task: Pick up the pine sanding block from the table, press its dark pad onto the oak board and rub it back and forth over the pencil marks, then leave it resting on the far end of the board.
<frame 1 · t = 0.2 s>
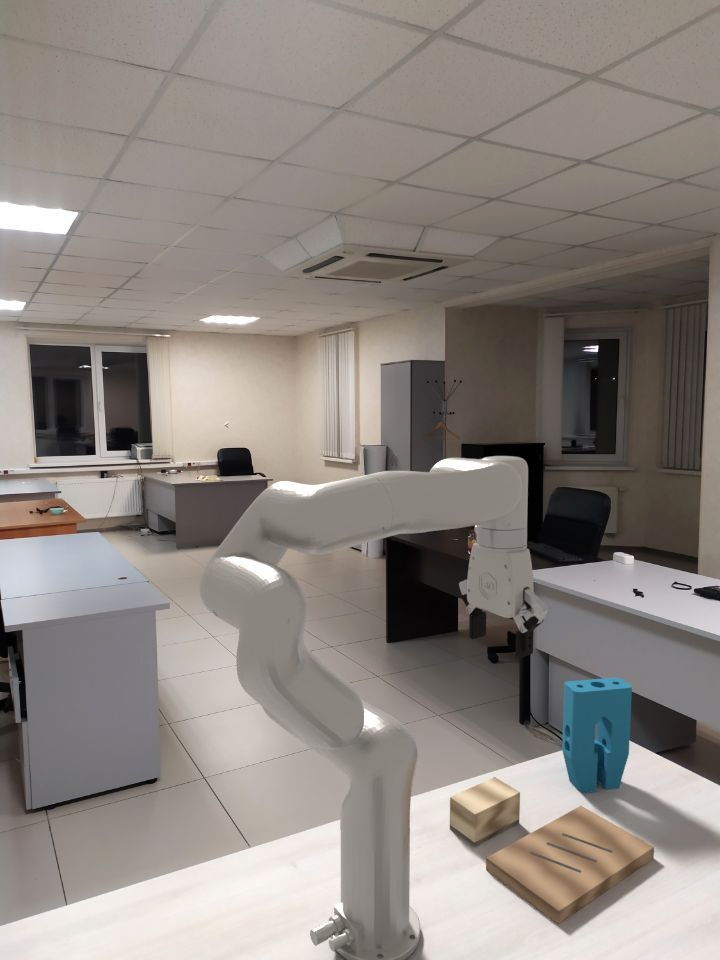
hand: (500, 646, 105), 36 cm above the table, tool pointing down, fingers open, 9 cm apart
oak board: (570, 863, 109), on the table
sanding block: (484, 827, 119), on the table
block: (594, 784, 132), on the table
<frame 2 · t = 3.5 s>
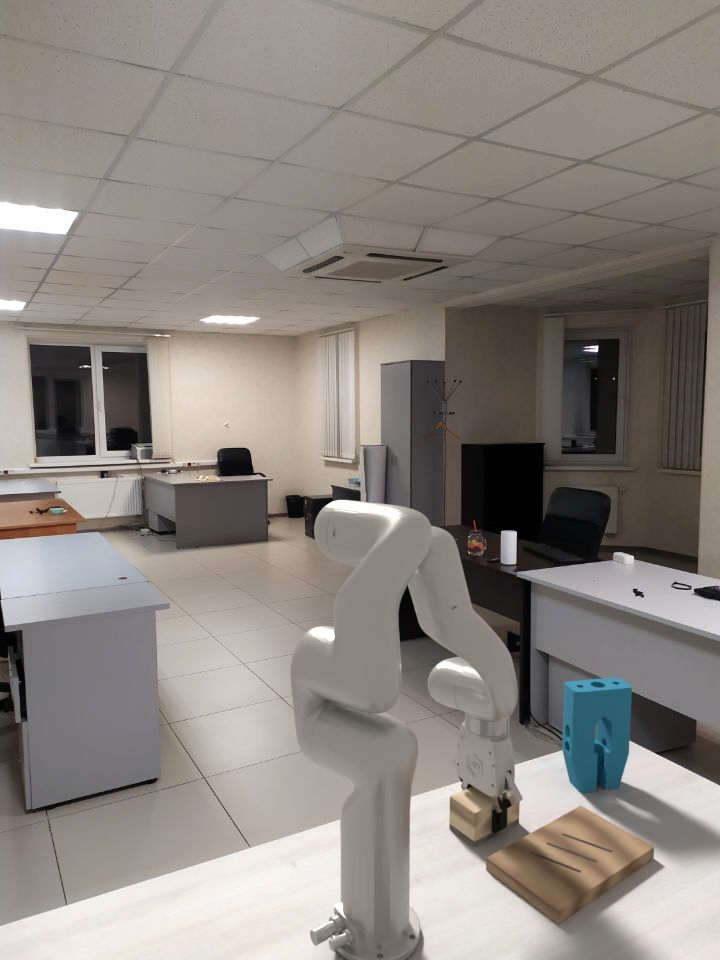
hand: (484, 819, 118), 1 cm above the table, tool pointing down, fingers closed on sanding block, 6 cm apart
sanding block: (484, 826, 119), on the table, touching gripper
everything else where it was.
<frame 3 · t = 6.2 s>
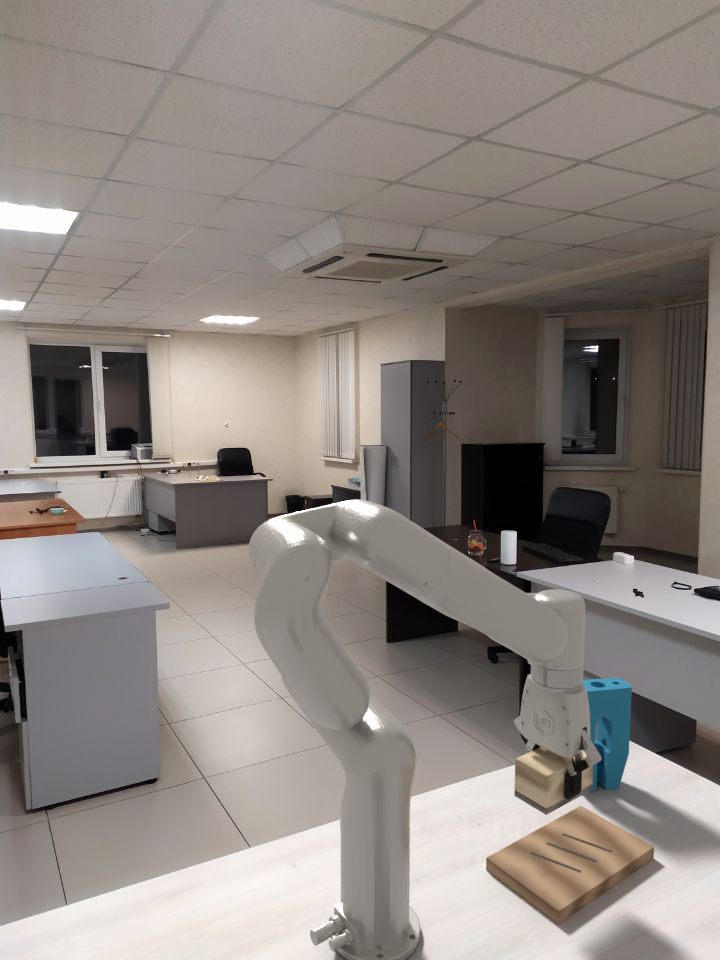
hand: (554, 784, 104), 15 cm above the table, tool pointing down, fingers closed on sanding block, 6 cm apart
sanding block: (553, 792, 104), point 14 cm above the table, touching gripper
everything else where it was.
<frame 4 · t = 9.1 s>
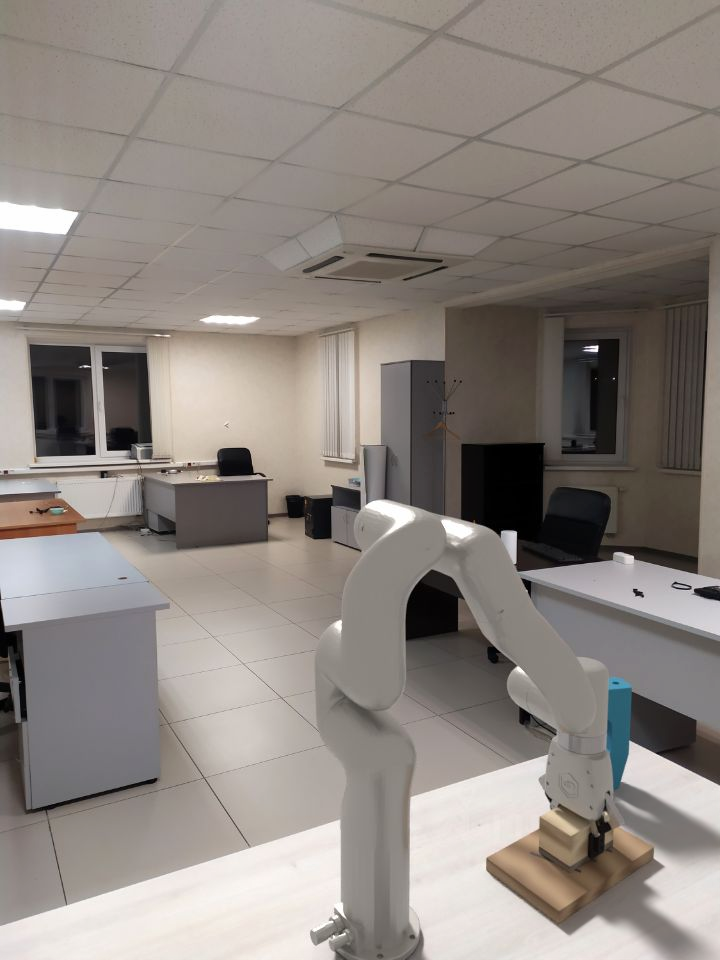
hand: (577, 842, 109), 3 cm above the table, tool pointing down, fingers closed on sanding block, 6 cm apart
sanding block: (576, 848, 109), point 2 cm above the table, touching gripper
everything else where it was.
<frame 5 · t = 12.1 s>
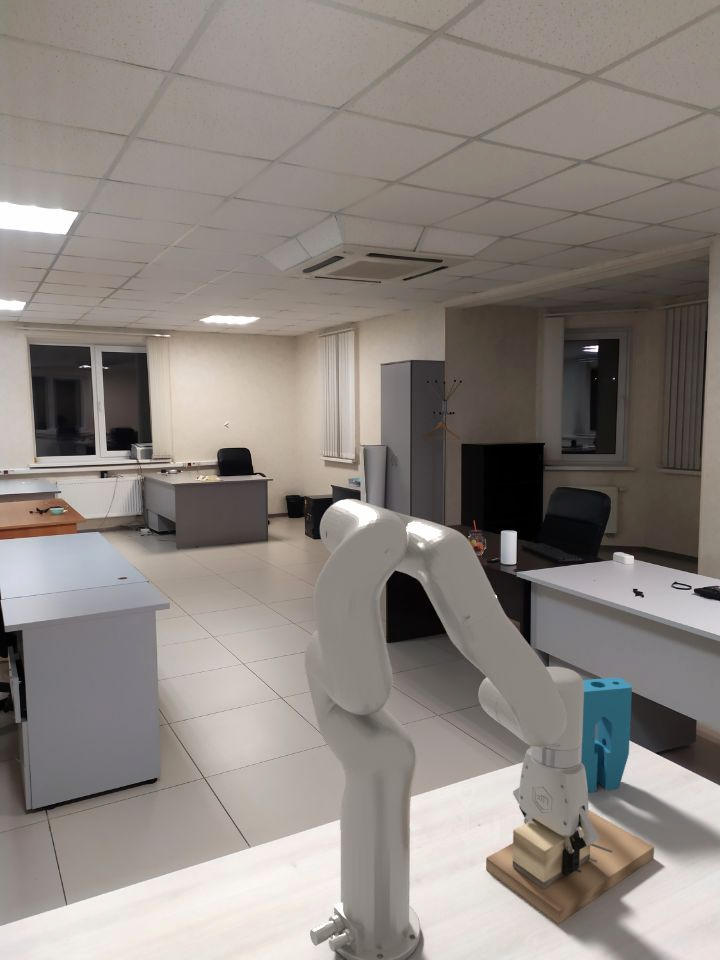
hand: (552, 858, 106), 3 cm above the table, tool pointing down, fingers closed on sanding block, 6 cm apart
sanding block: (551, 862, 106), point 2 cm above the table, touching gripper
everything else where it was.
when the fingers open (3 cm above the table, at t = 14.6 s): sanding block stays where it is, resting on oak board.
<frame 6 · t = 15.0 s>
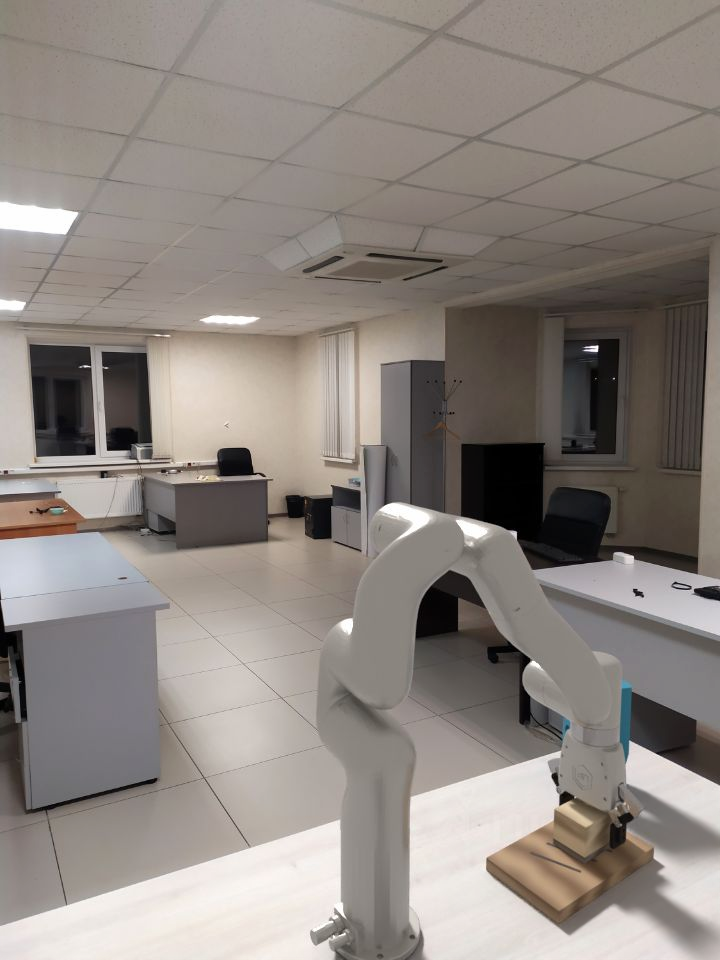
hand: (590, 829, 111), 4 cm above the table, tool pointing down, fingers open, 9 cm apart
sanding block: (589, 840, 111), point 2 cm above the table, touching oak board
everything else where it was.
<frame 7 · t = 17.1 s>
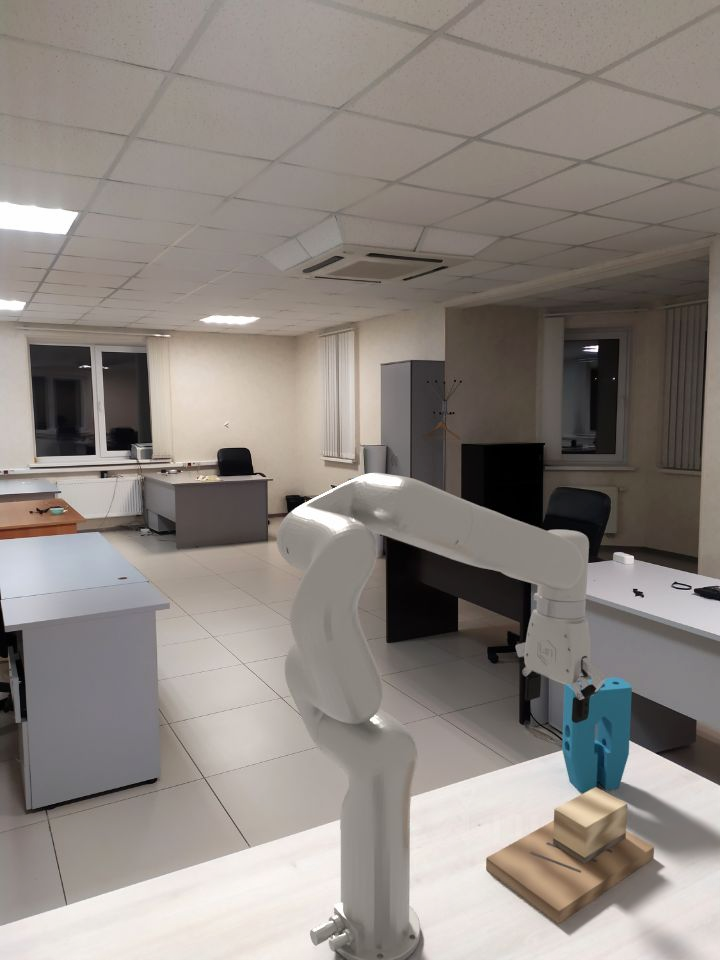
hand: (555, 709, 111), 24 cm above the table, tool pointing down, fingers open, 9 cm apart
nothing on the table moved.
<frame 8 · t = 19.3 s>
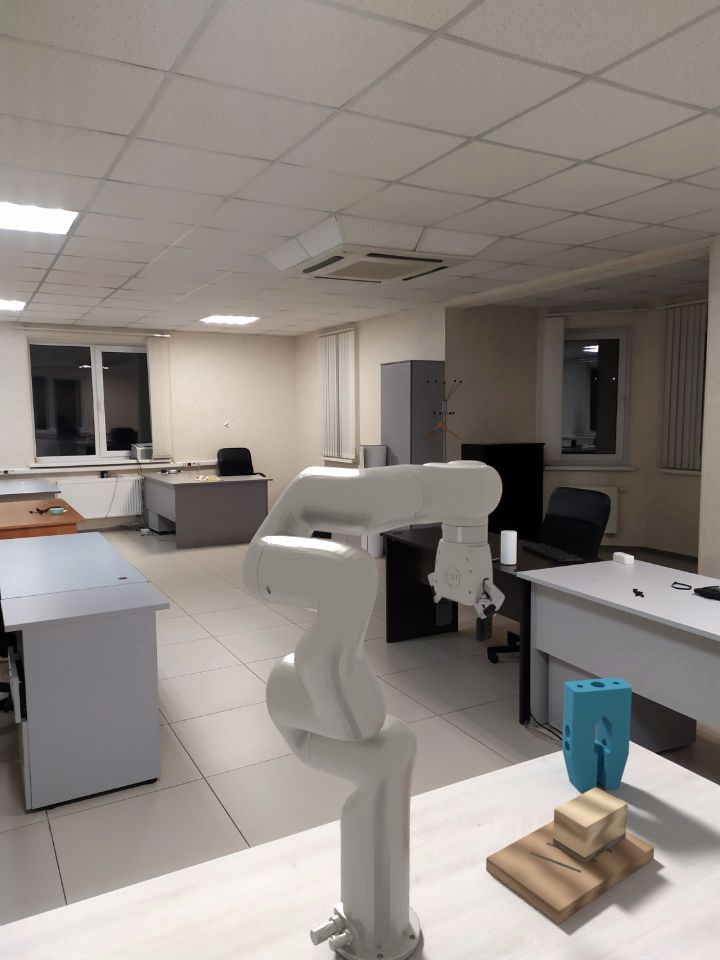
hand: (463, 631, 117), 34 cm above the table, tool pointing down, fingers open, 9 cm apart
nothing on the table moved.
at the end: sanding block inside the target area on the oak board (1.2 cm from its centre), point 2.0 cm above the oak board's base; sanding block tilted 0°; the gripper is holding nothing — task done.
